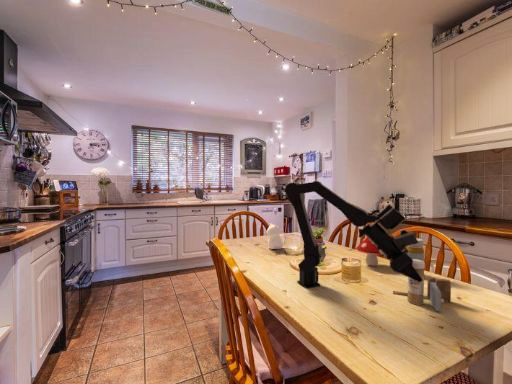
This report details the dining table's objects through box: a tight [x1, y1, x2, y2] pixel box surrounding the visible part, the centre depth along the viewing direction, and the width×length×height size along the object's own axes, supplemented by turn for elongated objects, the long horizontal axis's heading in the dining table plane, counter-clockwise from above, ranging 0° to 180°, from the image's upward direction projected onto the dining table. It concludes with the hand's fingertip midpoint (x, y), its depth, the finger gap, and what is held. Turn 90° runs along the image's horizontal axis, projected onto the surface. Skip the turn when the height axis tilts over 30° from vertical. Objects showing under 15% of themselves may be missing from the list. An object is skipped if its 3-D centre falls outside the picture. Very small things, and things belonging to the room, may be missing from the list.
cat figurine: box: [266, 222, 287, 250], centre depth 151 cm, size 9×12×15 cm
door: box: [429, 282, 445, 313], centre depth 78 cm, size 9×2×6 cm, turn 155°
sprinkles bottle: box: [407, 259, 426, 306], centre depth 81 cm, size 5×5×14 cm
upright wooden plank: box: [392, 276, 452, 303], centre depth 85 cm, size 16×2×7 cm, turn 65°
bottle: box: [406, 237, 425, 262], centre depth 107 cm, size 7×7×15 cm
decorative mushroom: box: [355, 236, 385, 267], centre depth 119 cm, size 14×14×15 cm
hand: (419, 276), depth 81 cm, fingers open, 9 cm apart
